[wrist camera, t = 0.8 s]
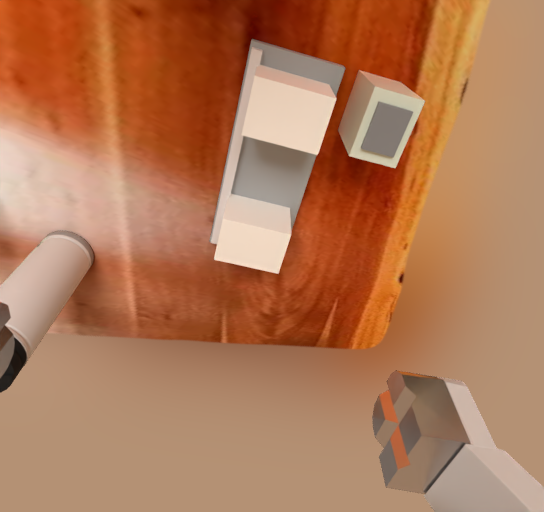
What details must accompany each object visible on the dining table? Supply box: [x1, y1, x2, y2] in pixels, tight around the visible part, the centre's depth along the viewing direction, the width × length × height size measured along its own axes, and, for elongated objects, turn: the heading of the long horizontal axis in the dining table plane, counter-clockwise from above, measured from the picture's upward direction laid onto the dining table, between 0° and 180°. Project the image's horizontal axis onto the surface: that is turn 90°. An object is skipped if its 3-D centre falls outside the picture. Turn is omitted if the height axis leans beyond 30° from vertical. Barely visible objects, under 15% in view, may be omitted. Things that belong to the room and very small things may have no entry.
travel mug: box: [0, 231, 94, 392], centre depth 43 cm, size 6×7×20 cm
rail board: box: [209, 39, 345, 274], centre depth 42 cm, size 22×9×8 cm, turn 165°
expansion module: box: [338, 70, 425, 168], centre depth 38 cm, size 6×4×8 cm
